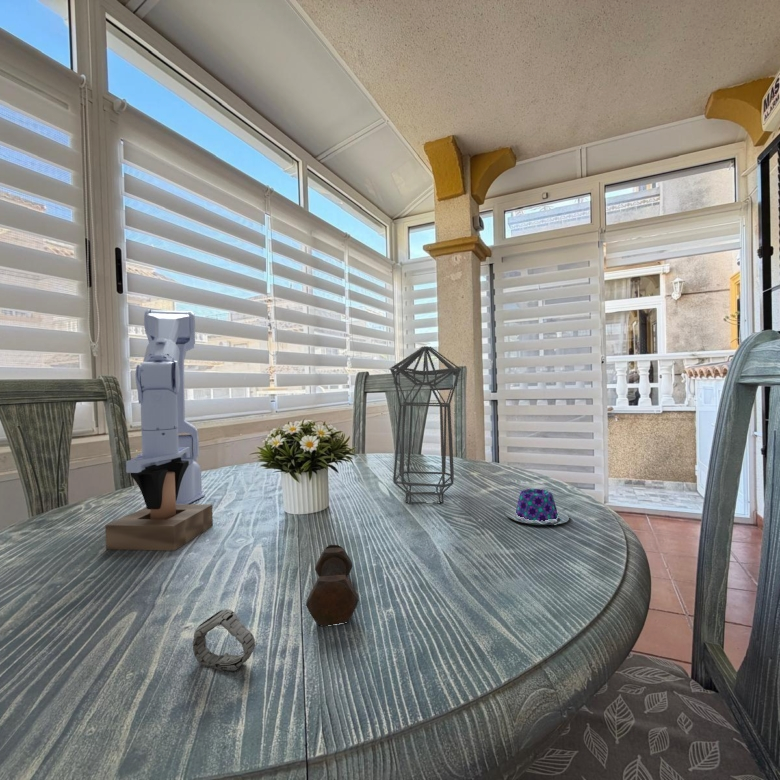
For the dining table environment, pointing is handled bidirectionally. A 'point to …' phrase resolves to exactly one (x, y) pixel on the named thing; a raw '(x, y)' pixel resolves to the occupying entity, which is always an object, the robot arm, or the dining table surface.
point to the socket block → (158, 529)
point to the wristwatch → (235, 629)
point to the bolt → (332, 588)
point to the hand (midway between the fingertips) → (162, 504)
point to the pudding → (536, 505)
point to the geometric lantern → (404, 366)
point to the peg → (166, 499)
